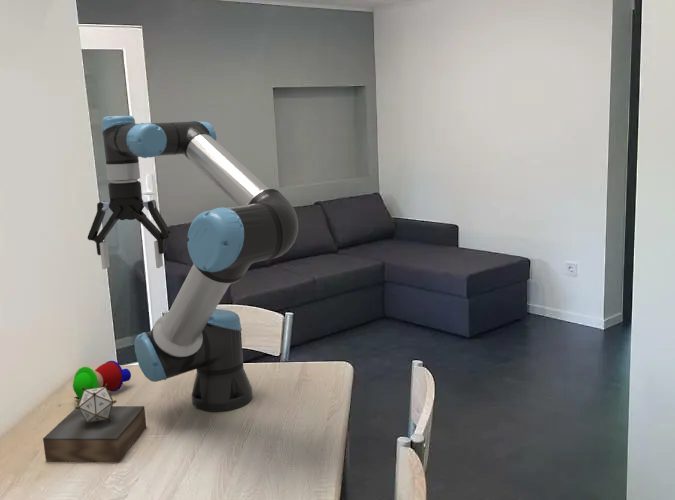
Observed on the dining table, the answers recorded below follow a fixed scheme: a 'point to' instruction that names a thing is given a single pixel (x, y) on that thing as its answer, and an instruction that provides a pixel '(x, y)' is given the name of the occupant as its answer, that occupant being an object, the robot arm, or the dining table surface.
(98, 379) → the toy figure
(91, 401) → the game die
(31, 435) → the dining table surface
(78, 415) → the dark gray square base
